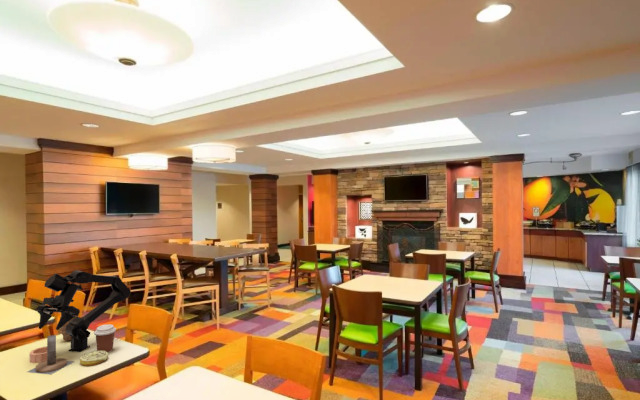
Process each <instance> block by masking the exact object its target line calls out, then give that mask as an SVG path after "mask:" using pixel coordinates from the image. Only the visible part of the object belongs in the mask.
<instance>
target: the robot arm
mask: <svg viewBox="0 0 640 400" xmlns="http://www.w3.org/2000/svg"><path fill="white" fill-rule="evenodd" d="M88 283H97V284H98V283H99V284H100V283H101V284H110V285H111V286H110V287H111V289H112V291H111V292H110V294H109V296H108V297H107V298H106V299H104V300H103V301H102V302H101V303H100V304H98V305H97V306H95V307H94V308H92V310H90V311H89V312H87V314H85V315H83V316H82V317H80V316H79V315H80V313H81V310H80V309H79V308H78V307H75V306H74V305H71V303H73V302H74V301H75V300H74V297H75V295H76V293H77V292H78V291H82V290H83V289H84V288H83V287H82V284H88ZM44 288H47V289H48V290H49V289H50V290H51V291H55V292H56V293H58V292H59V294H58V295H55V296H54V297H44V298H43V299H42V304H40V305H38V306H37V307H36V309H35V311H36V312H37V314H39V324H38V329H40V330H42V329H43V328H44V327H45V326H46V324H47V323H48V322H49V321H50V319H52V317H53V314H54V313H60V317H61V318H60V317H59V321H58V323H57V325H56V326H55V330H56V331H58V330H61V327H62V326H63V325H65V324H66V323H67V322H68V321H70V320H71V319H72V318H74V319H73V320H72V321H70V322H69V324H68V325H67V326H66V333H67V334H69V335H70V336H71V340H70V349H68V352H72V353H81V352H83V351H84V350H87V349H89V348H91V345H88V343H89V339H88V338H89V337H90V335H91V332H90V331H89V330H88V328H89V327H90V325H91V324H92V323H93V322H94V321H95V320H97V319H98V318H100V316H102V315H103V314H104V313H106V311H108V310H109V309H110V308H112V307H113V306H115V304H118V303H121V302H123V301H126V300H127V299H128V298H129V297H130V296H131V294H132V293H131V289H130V288H128V286H127V284H125V282H123V280H122V279H121V277H120V276H116V275H101V274H93V273H90V272H86V271H83V270H77V269H76V270H73V271H72V272H70V274H68V275H65V276H61V274H59V273H54V274H52V276H50V277H49V278H48V279H46V281H45V283H44ZM75 316H78V317H75Z"/></svg>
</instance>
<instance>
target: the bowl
mask: <svg viewBox="0 0 640 400" xmlns="http://www.w3.org/2000/svg"><path fill="white" fill-rule="evenodd" d="M44 361H47V345H46V346H42V347H41V346H40V347H38V348H35V349H32V350H31V351H30V352H29V363H31V364H39V363H41V362H44Z"/></svg>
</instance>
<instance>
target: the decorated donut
mask: <svg viewBox="0 0 640 400" xmlns="http://www.w3.org/2000/svg"><path fill="white" fill-rule="evenodd" d="M108 357H109V353H107V352H106V351H97V350H94V351H90V352H87V353H84V354H82V355H81V356H80V357H79V363H80V364H81V365H82V366H84V367H85V366H86V367H91V366H96V365H99V364H101V363H104V362H105V361H106V360H107V359H108Z"/></svg>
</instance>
